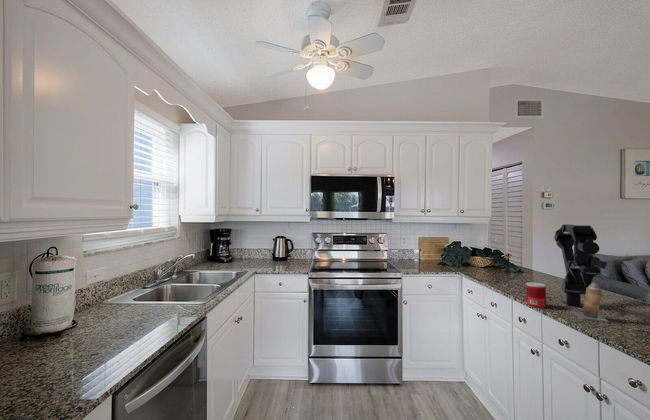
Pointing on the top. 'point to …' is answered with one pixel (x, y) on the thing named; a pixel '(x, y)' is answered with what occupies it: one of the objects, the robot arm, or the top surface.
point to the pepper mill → (592, 300)
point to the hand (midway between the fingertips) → (582, 285)
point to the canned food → (536, 295)
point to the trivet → (584, 317)
